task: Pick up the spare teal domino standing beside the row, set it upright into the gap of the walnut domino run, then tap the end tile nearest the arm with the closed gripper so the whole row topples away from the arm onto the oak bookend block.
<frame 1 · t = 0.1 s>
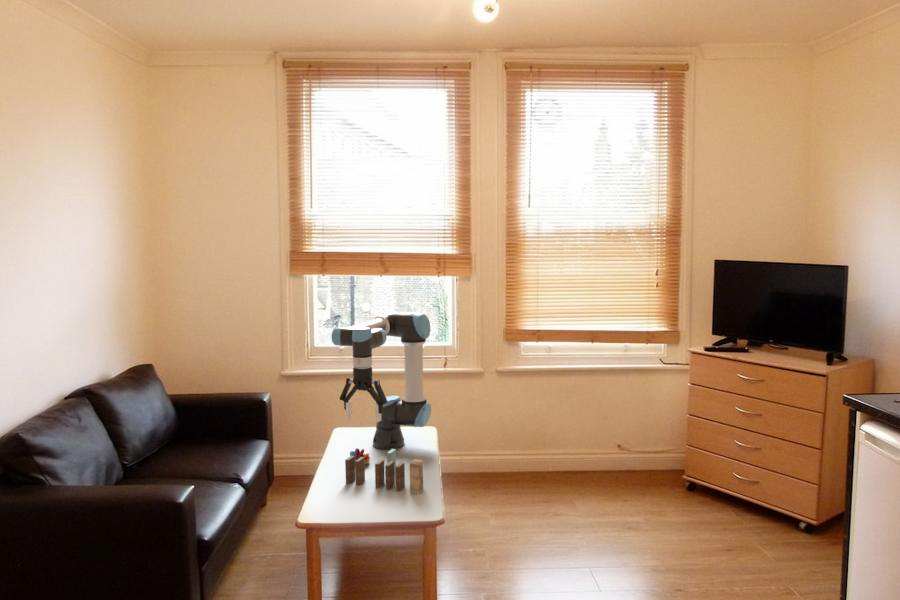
hand: (363, 419, 243), 28 cm above the table, fingers open, 13 cm apart
teal domino: (391, 473, 259), on the table
domino 6: (400, 488, 244), on the table
end block: (416, 491, 241), on the table
domino 5: (390, 487, 245), on the table
domino 2: (360, 482, 250), on the table
domino 4: (380, 485, 247), on the table
domino 1: (350, 481, 252), on the table
colorful disc cluster: (358, 465, 271), on the table
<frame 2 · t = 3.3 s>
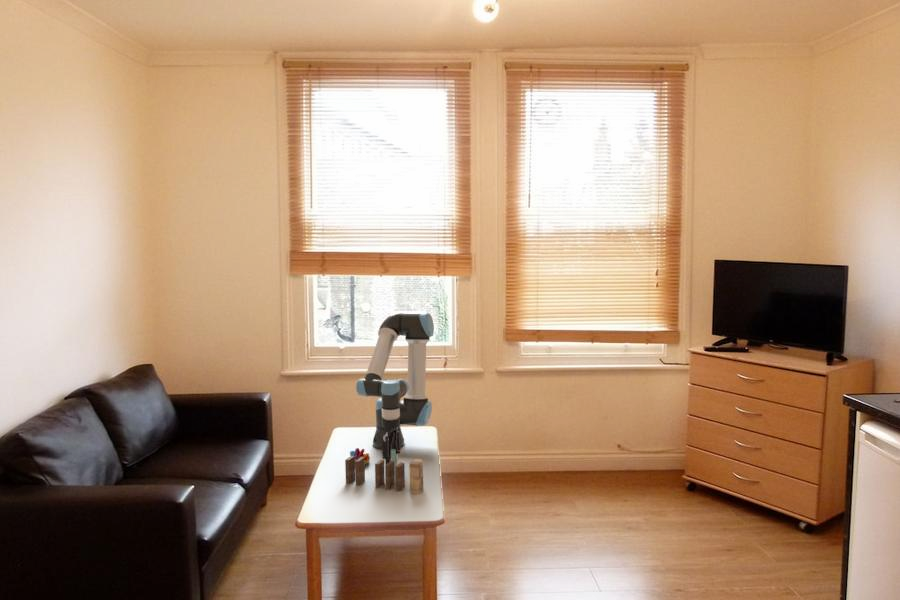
hand: (391, 470, 259), 1 cm above the table, fingers closed on teal domino, 5 cm apart
teal domino: (391, 473, 259), on the table, touching gripper
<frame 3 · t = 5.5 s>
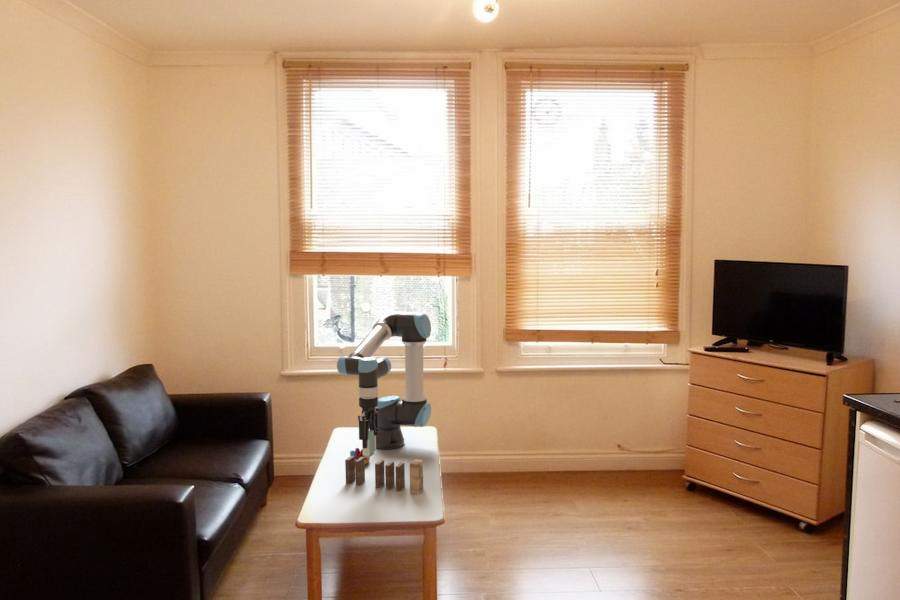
hand: (369, 452, 247), 13 cm above the table, fingers closed on teal domino, 5 cm apart
teal domino: (369, 455, 247), point 12 cm above the table, touching gripper
everything else where it was.
when the fingers open (2 cm above the table, at t = 7.7 s): teal domino stays where it is, on the table.
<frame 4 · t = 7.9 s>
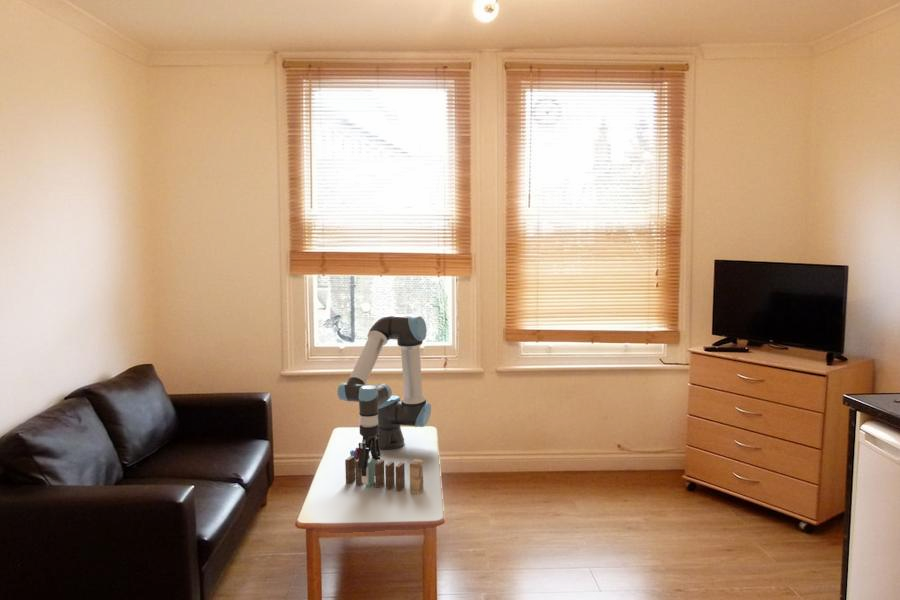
hand: (370, 479, 248), 2 cm above the table, fingers open, 8 cm apart
teal domino: (370, 484, 248), on the table
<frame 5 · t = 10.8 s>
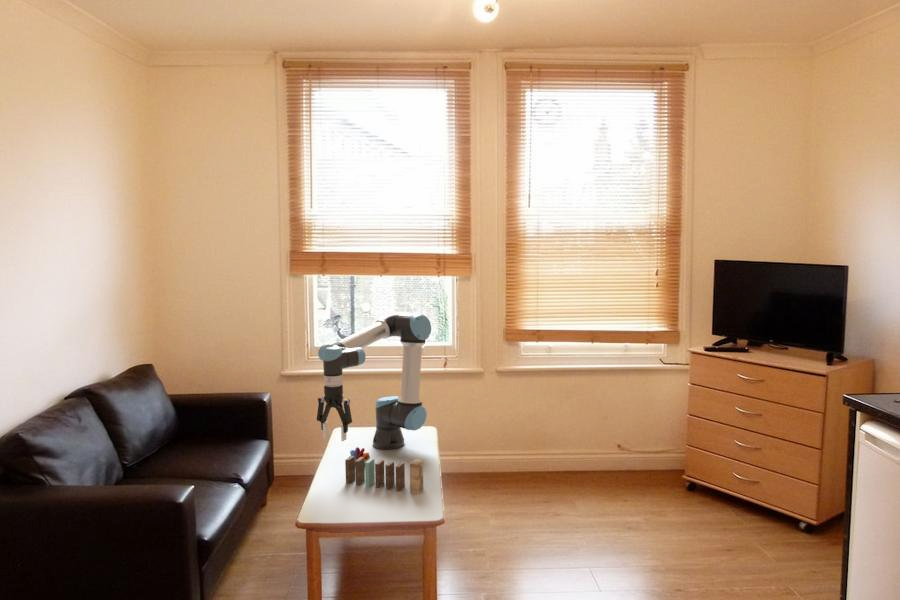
hand: (334, 438, 252), 17 cm above the table, fingers open, 8 cm apart
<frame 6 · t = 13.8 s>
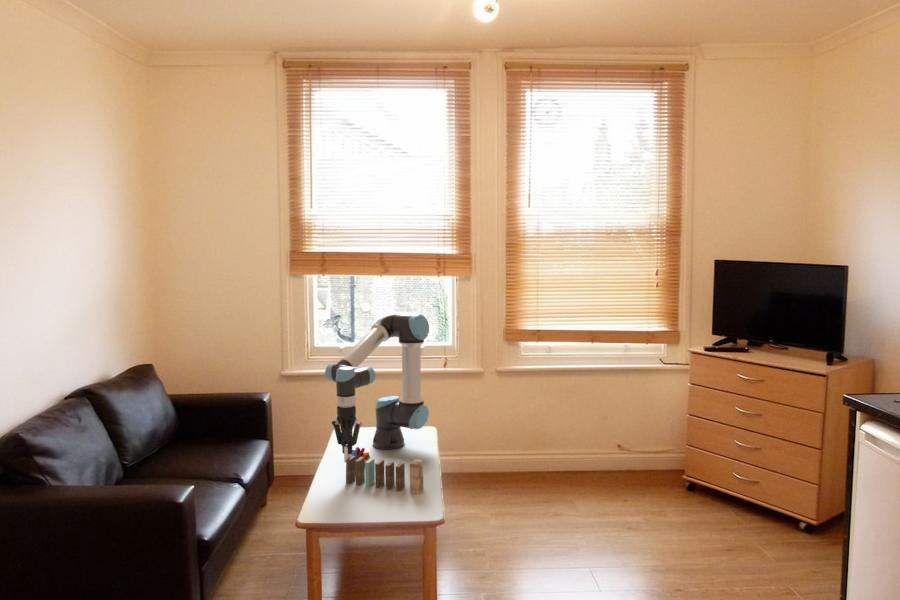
hand: (347, 461, 251), 8 cm above the table, fingers closed
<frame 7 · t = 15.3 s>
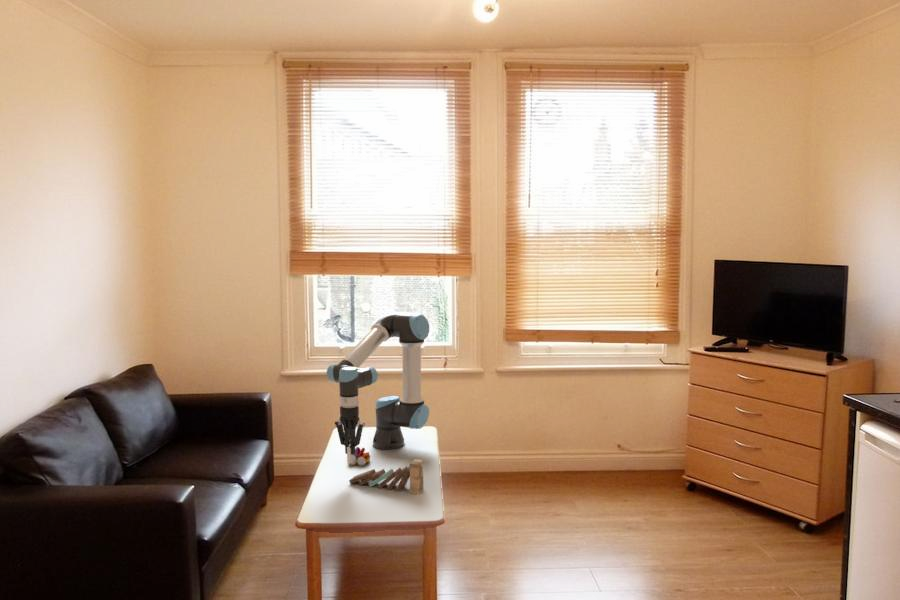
hand: (350, 461, 251), 8 cm above the table, fingers closed
teal domino: (372, 483, 248), point 1 cm above the table, tilted 57°, touching domino 2, domino 4
domino 6: (400, 487, 244), on the table, tilted 27°, touching domino 5, end block
domino 5: (391, 486, 245), on the table, tilted 40°, touching domino 4, domino 6
domino 2: (362, 481, 250), point 1 cm above the table, tilted 61°, touching domino 1, teal domino
domino 4: (381, 484, 247), point 1 cm above the table, tilted 49°, touching domino 5, teal domino
domino 1: (352, 480, 251), point 1 cm above the table, tilted 65°, touching domino 2
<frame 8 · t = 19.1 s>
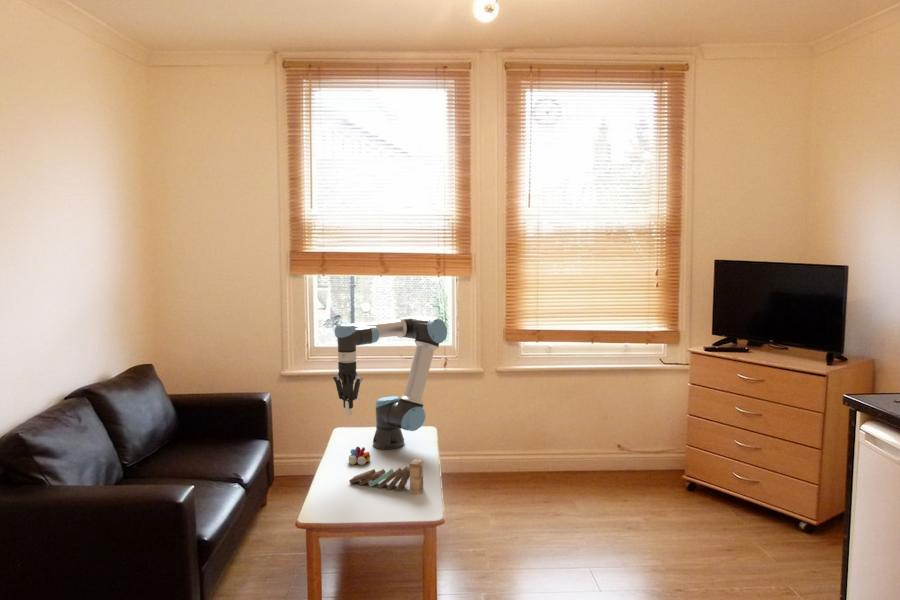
hand: (348, 415, 260), 24 cm above the table, fingers closed
at the end: domino 6 tilted 27°; teal domino tilted 57°; teal domino inside the target area (1.1 cm from its centre), point 0.7 cm above the table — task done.
